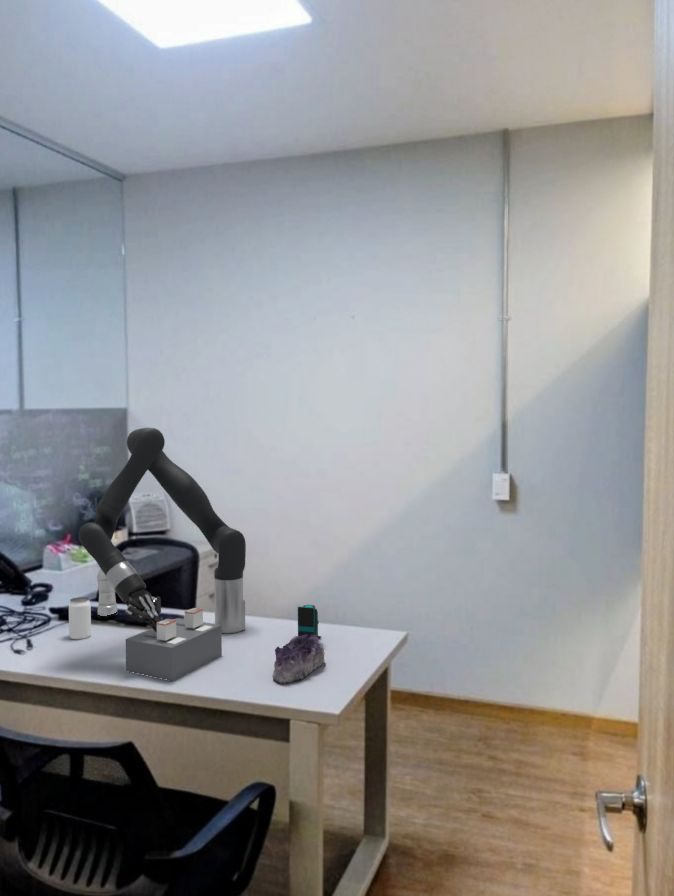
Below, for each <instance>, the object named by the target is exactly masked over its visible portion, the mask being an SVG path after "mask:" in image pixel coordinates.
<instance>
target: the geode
mask: <svg viewBox="0 0 674 896" xmlns="http://www.w3.org/2000/svg"><path fill="white" fill-rule="evenodd" d="M319 640H320V639H319V638H318V637H317V635H313V634H311V636H310V638H309V635H308V634H306V635H303V636H300V637H298V635H294V636H293V637H292V638H291V639H290V640H289V642H287V643H285V645H283V646H282V647H280V646H276V647H275V649H274V652H275V661H274V663H273V664H274V665H273V667H274V669H273V673H272V674H273V675H272V679H273V680H272V681H273V682H275V683H276V684H277V685H282V686H283V685H290V684H294V683H297V682H300V681H303V679H305V677H307V676H308V675H309V674H311V673H313V671H316V669H318V668H319V667H320V666H321V665H322V664H323V663H324V662H325V648H324V647H323V646H321V645H320V644H319Z"/></svg>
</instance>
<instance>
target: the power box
mask: <svg viewBox="0 0 674 896" xmlns="http://www.w3.org/2000/svg"><path fill="white" fill-rule="evenodd" d="M174 620H176V636H175V637H173V638H171V639H169V640H166V641H164V640H159V639H157V633H156V632H155V631H154V630H153V628H152V627H151V628H150V629H148V630H145V631H142V632H140V633H137V634H134V635H132V636H130V637H127V638H125V672H126V671H129V672H128V673H130V672H134V673H133V674H135V673H139V674H138V675H140V674H144V675H148V676H147V677H149V676H152V677H151V678H154V677H156V678H155V679H159V678H162V679H161V680H163V679H167V680H166V681H168V680H171V681H170V682H174V681H176V680H178V679H180V678H182V677H183V675H184V676H186V675H187V673H188V674H189V673H191V672H193V671H195V670H197V669H199V668H201V667H202V666H204V665H207V664H208V663H210V662H212V661H214V660H216V659H219V657H222V654H223V653H222V651H223V650H222V649H223V647H222V646H223V645H222V642H223V641H222V639H223V638H222V635H223V633H221V625H218V624H215V623H211V622H205V621H203V624H202V625H200V626H198V627H196V628H188V627H185V618H180V617H177V618H174ZM185 674H186V675H185ZM144 675H143V676H144ZM181 676H182V677H181ZM179 677H180V678H179ZM177 678H178V679H177ZM175 679H176V680H175ZM173 680H174V681H173Z"/></svg>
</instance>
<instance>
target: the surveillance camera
mask: <svg viewBox="0 0 674 896" xmlns="http://www.w3.org/2000/svg"><path fill="white" fill-rule="evenodd" d="M306 634H308V635H309V638H310V636H311V634H313V635H317V637H318V638H319V640H320V639H321V638H322V635H321V636H320V635H319V611H318V609H317V608H316V606H315V605H313V604H306V605H302V606H298V607H297V636H298V637H300V636H303V635H306Z"/></svg>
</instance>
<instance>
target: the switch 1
mask: <svg viewBox="0 0 674 896" xmlns="http://www.w3.org/2000/svg"><path fill="white" fill-rule="evenodd" d="M174 619H175V618H174ZM174 619H173V618H165V619H163V620H161V621H160V622H157V623H156V624H157V639H159V640H164V641H166V640H169V639H171V638H173V637H175V636H176V620H174Z"/></svg>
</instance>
